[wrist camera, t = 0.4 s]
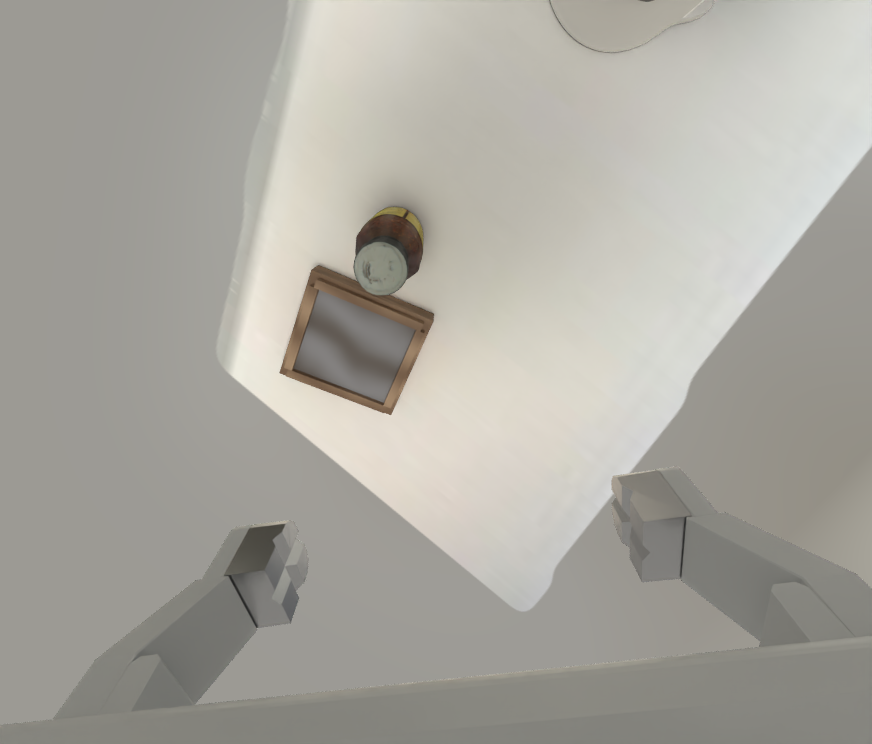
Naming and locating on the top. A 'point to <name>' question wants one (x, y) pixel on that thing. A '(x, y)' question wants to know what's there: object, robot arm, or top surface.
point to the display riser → (354, 341)
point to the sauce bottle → (388, 251)
